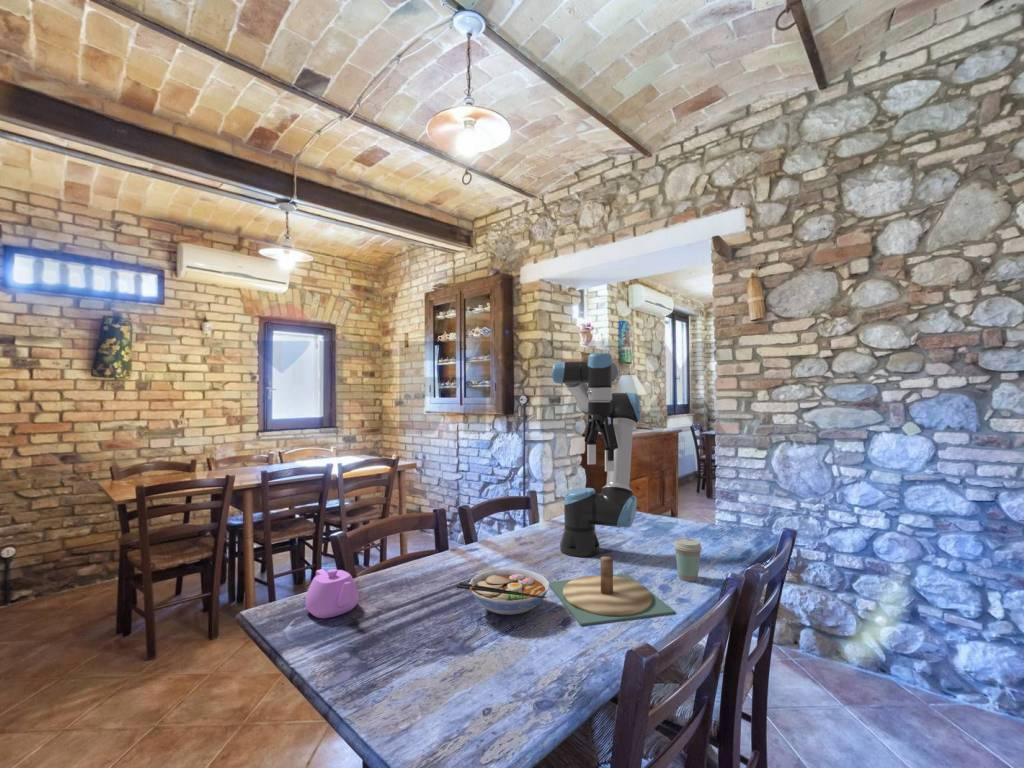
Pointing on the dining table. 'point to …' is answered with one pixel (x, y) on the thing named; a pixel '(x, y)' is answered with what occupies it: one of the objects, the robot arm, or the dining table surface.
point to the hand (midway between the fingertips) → (600, 467)
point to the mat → (588, 618)
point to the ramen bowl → (508, 590)
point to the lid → (607, 593)
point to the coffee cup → (687, 558)
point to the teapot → (331, 593)
